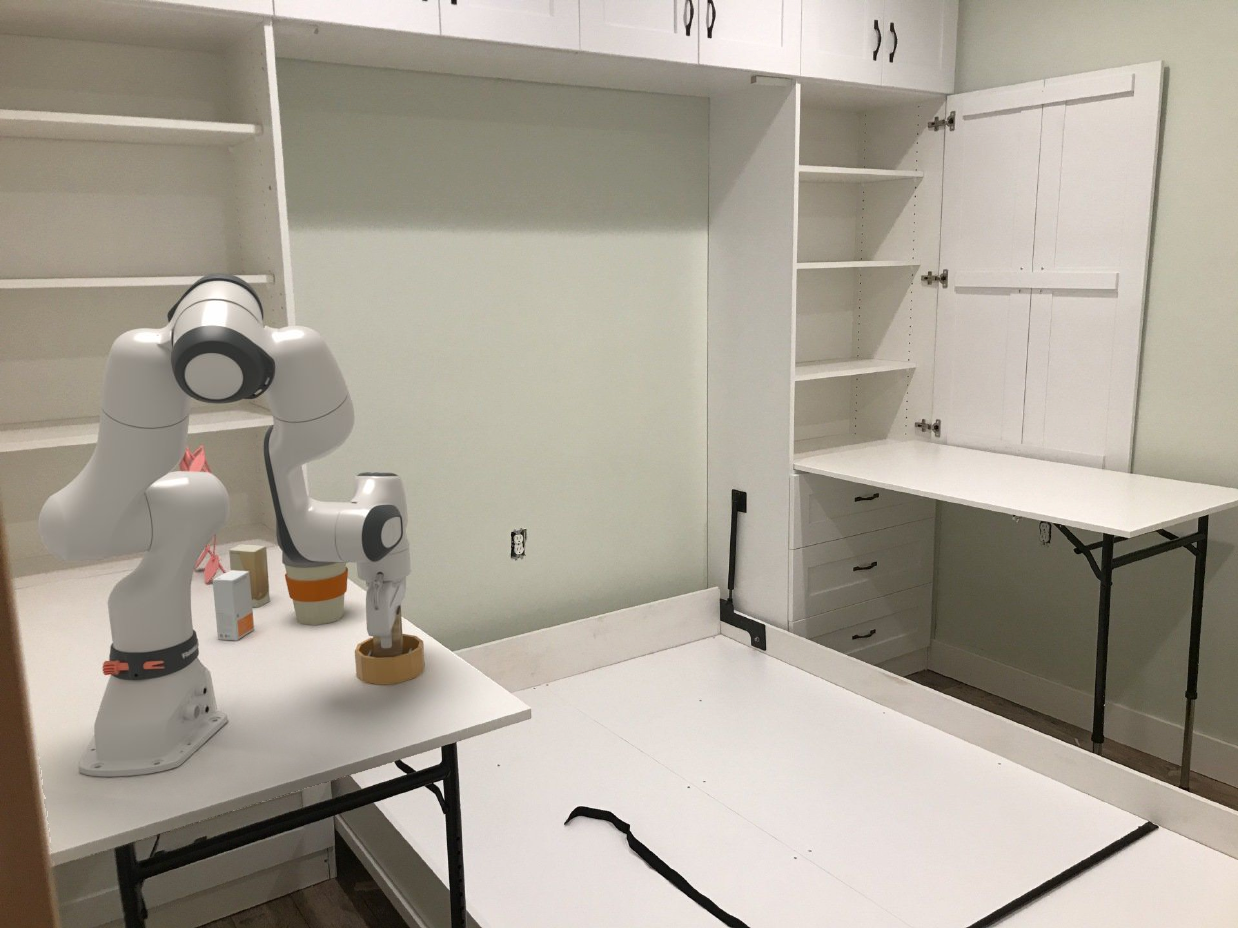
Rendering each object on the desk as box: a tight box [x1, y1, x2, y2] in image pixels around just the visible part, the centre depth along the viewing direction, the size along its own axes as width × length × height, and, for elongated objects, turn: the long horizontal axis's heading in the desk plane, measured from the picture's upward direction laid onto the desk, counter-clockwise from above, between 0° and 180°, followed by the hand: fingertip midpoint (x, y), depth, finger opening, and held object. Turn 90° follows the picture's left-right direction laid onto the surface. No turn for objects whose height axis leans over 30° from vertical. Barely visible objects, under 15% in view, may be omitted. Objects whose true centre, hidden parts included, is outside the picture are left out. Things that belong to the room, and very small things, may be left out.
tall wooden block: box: [372, 604, 404, 658], centre depth 168 cm, size 3×4×10 cm, turn 95°
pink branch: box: [178, 445, 227, 584], centre depth 219 cm, size 15×26×35 cm, turn 31°
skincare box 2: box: [212, 569, 255, 642], centre depth 187 cm, size 6×4×12 cm
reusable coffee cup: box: [281, 550, 349, 626], centre depth 195 cm, size 13×13×15 cm
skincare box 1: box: [228, 543, 271, 608], centre depth 204 cm, size 6×4×12 cm
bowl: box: [354, 633, 426, 685], centre depth 169 cm, size 11×11×4 cm
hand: (389, 641), depth 169 cm, fingers closed on tall wooden block, 3 cm apart
